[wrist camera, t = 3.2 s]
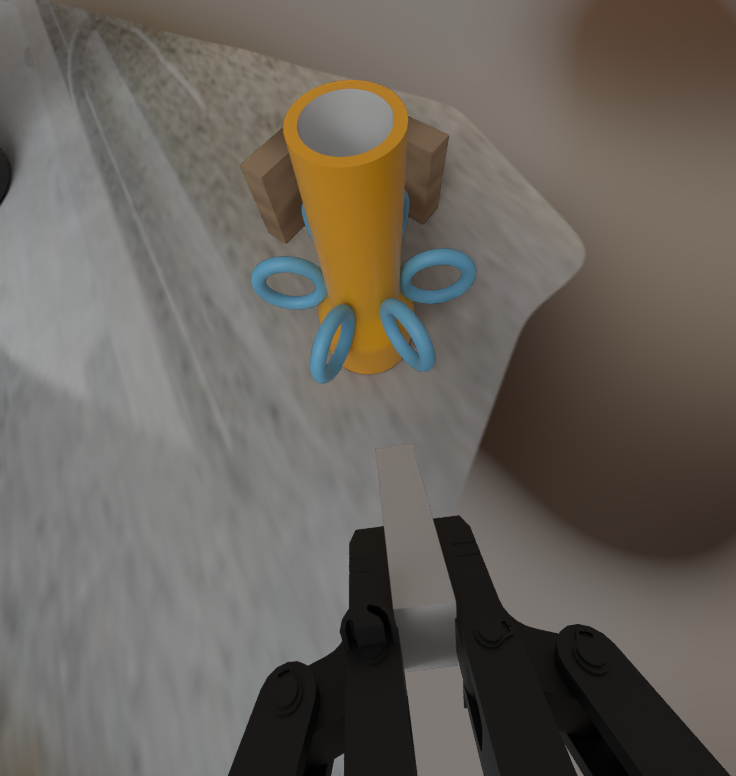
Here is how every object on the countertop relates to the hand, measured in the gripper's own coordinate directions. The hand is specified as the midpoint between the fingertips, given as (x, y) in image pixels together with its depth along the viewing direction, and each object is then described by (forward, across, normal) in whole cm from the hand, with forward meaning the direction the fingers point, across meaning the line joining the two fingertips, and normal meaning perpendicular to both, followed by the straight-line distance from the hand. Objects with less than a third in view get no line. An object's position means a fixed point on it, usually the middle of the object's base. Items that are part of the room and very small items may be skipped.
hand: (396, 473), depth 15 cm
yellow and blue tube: (+13, 0, +2) cm, 13 cm away
